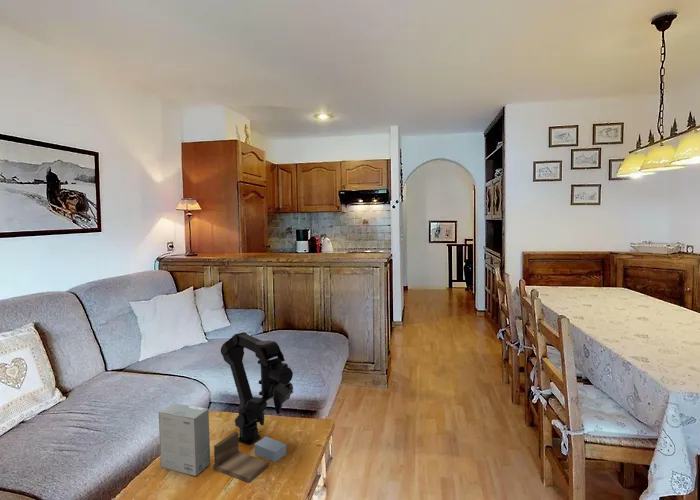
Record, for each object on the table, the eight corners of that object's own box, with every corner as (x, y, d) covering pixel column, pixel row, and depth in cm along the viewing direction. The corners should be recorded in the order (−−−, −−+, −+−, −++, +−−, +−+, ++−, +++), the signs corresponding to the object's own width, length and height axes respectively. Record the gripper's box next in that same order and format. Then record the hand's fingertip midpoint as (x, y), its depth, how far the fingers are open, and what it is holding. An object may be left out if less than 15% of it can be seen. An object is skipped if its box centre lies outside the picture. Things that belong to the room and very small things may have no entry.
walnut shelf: (213, 468, 133) (212, 445, 133) (234, 453, 142) (233, 431, 142) (249, 482, 126) (248, 457, 126) (268, 465, 135) (268, 442, 135)
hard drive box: (211, 463, 136) (209, 408, 135) (196, 477, 129) (194, 419, 128) (176, 455, 141) (174, 402, 140) (159, 467, 134) (157, 411, 133)
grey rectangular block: (254, 454, 142) (254, 444, 142) (265, 446, 147) (265, 436, 147) (275, 463, 137) (275, 452, 137) (286, 454, 142) (286, 444, 142)
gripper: (270, 390, 129) (272, 436, 129) (302, 371, 145) (303, 412, 146) (244, 385, 134) (246, 429, 134) (278, 367, 150) (279, 407, 151)
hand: (270, 419), depth 141 cm, fingers open, 9 cm apart
